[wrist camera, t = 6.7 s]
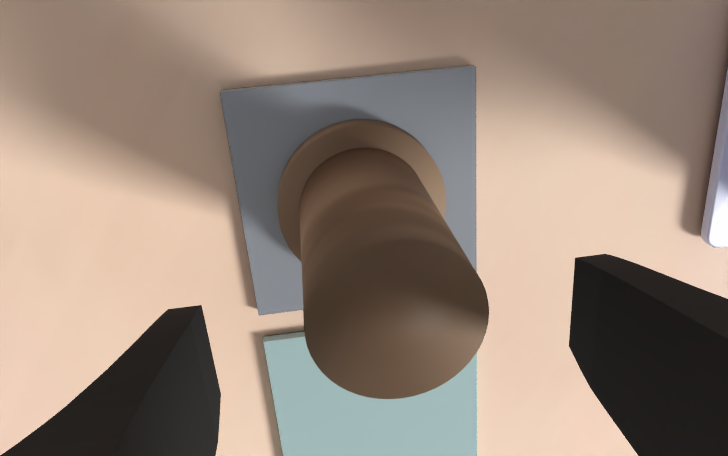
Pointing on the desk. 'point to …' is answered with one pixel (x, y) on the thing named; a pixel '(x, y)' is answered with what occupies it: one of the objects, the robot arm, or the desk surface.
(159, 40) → the desk surface
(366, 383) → the pawn
